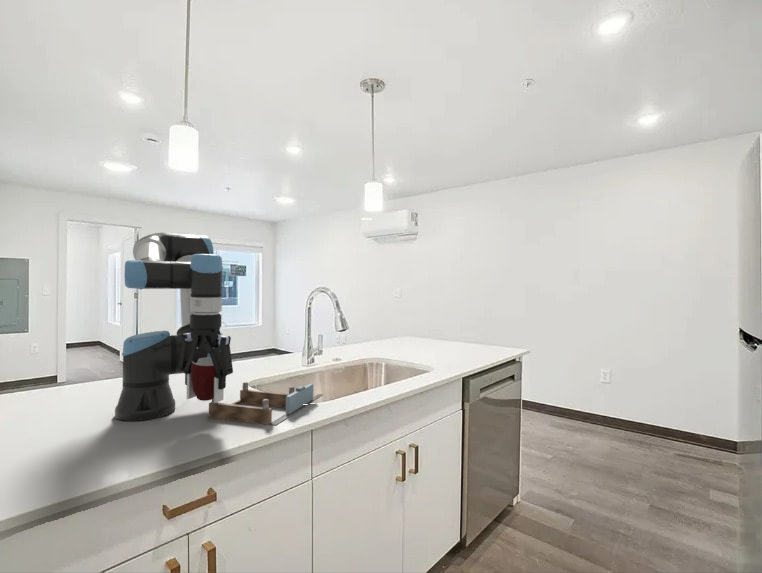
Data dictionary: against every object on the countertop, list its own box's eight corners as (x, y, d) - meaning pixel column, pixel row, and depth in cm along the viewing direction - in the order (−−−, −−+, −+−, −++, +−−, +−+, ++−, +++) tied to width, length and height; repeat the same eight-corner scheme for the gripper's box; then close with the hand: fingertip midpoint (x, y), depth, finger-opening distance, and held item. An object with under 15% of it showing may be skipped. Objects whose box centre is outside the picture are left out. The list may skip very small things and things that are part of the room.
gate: (285, 413, 112) (285, 393, 112) (309, 398, 127) (309, 381, 127) (290, 414, 112) (290, 394, 112) (313, 399, 127) (313, 381, 127)
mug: (220, 407, 99) (223, 369, 98) (185, 408, 96) (187, 368, 95) (222, 392, 109) (225, 357, 108) (191, 392, 106) (193, 357, 105)
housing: (208, 417, 110) (208, 394, 110) (268, 389, 139) (268, 372, 139) (275, 425, 104) (275, 401, 104) (323, 395, 133) (323, 376, 133)
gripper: (162, 312, 101) (161, 399, 102) (230, 316, 95) (229, 408, 96) (184, 310, 108) (183, 391, 109) (248, 313, 102) (247, 399, 103)
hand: (204, 399), depth 102 cm, fingers closed on mug, 8 cm apart
